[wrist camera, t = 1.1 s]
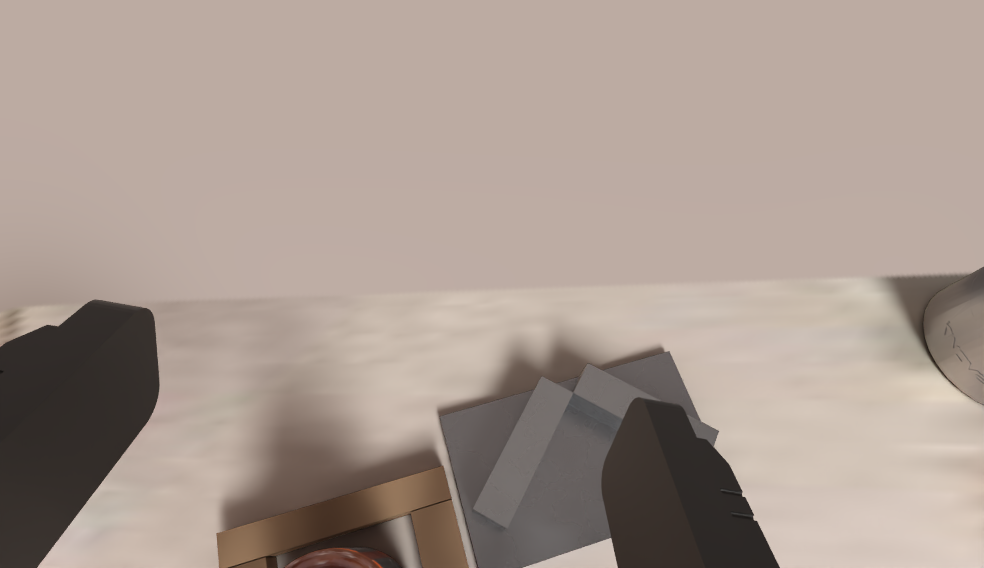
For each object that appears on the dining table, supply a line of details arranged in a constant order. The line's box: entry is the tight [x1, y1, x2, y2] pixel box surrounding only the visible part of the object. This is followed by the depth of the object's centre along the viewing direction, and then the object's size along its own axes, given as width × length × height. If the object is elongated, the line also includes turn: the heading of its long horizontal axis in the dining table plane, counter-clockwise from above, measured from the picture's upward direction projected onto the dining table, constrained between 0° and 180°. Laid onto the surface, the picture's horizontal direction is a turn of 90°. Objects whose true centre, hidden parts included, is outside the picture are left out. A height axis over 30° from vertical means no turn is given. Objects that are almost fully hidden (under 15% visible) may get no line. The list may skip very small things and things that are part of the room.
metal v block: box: [440, 351, 719, 568], centre depth 32 cm, size 15×9×3 cm, turn 107°
